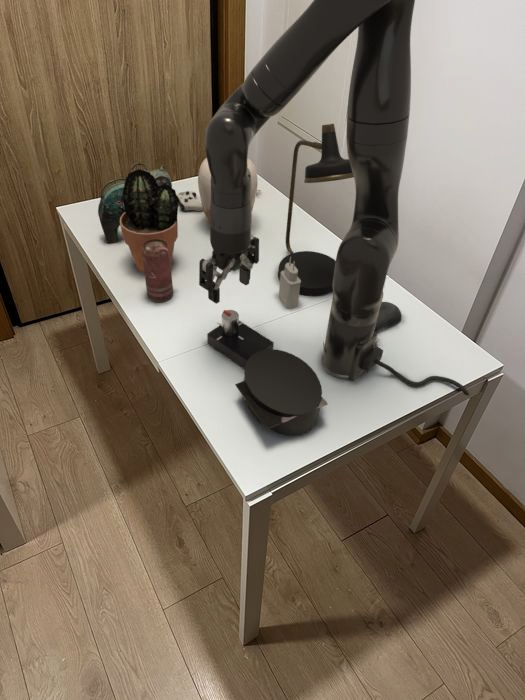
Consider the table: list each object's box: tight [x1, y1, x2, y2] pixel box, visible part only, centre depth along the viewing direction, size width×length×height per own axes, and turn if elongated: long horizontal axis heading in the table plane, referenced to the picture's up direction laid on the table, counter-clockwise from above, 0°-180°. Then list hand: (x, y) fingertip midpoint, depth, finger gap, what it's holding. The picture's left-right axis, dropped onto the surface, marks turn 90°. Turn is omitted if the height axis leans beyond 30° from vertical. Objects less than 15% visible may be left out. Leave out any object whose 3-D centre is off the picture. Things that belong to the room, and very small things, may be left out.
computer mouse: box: [374, 301, 402, 345], centre depth 122 cm, size 10×15×4 cm
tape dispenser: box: [234, 348, 329, 437], centre depth 103 cm, size 14×18×8 cm
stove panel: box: [206, 320, 274, 370], centre depth 115 cm, size 13×8×3 cm, turn 48°
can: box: [142, 239, 174, 303], centre depth 123 cm, size 6×6×14 cm
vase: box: [197, 157, 258, 225], centre depth 143 cm, size 16×16×23 cm
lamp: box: [277, 123, 354, 297], centre depth 123 cm, size 16×22×38 cm
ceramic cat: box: [97, 162, 173, 244], centre depth 139 cm, size 20×6×20 cm, turn 115°
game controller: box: [176, 190, 204, 212], centre depth 158 cm, size 10×5×6 cm
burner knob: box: [221, 309, 240, 337], centre depth 113 cm, size 4×4×5 cm
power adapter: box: [278, 257, 301, 309], centre depth 124 cm, size 3×5×12 cm, turn 24°
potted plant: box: [119, 168, 179, 273], centre depth 128 cm, size 14×14×25 cm
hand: (229, 292), depth 108 cm, fingers open, 8 cm apart
